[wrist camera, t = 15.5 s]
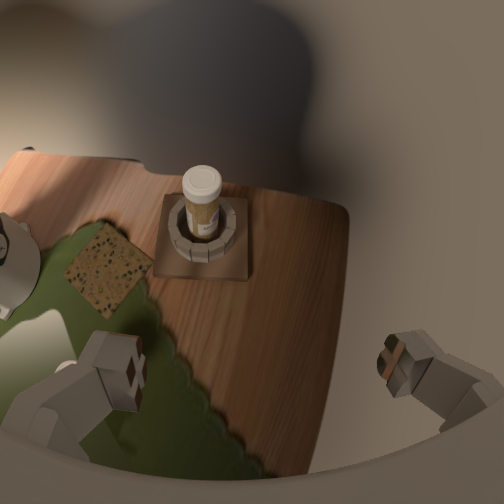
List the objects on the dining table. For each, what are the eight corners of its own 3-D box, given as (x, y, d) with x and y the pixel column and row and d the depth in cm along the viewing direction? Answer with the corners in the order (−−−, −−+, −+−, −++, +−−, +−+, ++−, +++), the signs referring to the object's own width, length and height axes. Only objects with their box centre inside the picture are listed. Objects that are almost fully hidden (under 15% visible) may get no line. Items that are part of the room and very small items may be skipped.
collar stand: (154, 277, 40) (146, 264, 35) (165, 199, 46) (161, 179, 41) (246, 281, 42) (251, 269, 37) (246, 203, 48) (250, 183, 43)
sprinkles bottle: (213, 249, 42) (215, 198, 30) (184, 242, 42) (176, 189, 29) (221, 223, 44) (226, 168, 31) (193, 216, 43) (189, 160, 31)
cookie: (156, 262, 42) (155, 259, 41) (109, 321, 37) (107, 320, 36) (108, 222, 43) (106, 219, 42) (63, 275, 38) (61, 273, 37)
